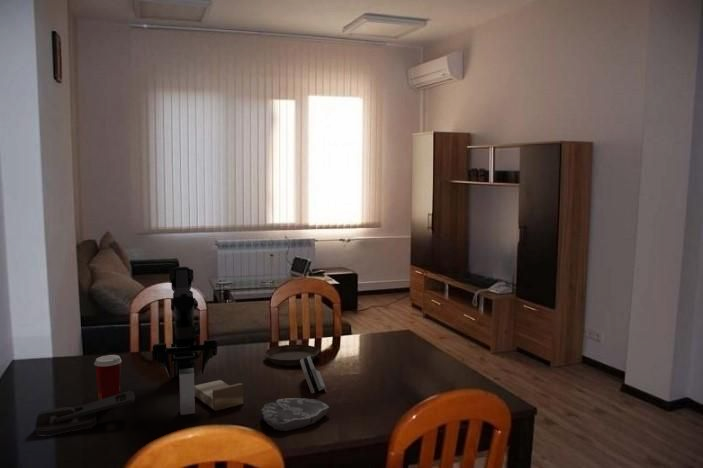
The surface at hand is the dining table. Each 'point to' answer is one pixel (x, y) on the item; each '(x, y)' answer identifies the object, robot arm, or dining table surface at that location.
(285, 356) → the plant saucer
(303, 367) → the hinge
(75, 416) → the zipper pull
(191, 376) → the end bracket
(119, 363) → the paper cup
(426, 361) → the dining table surface
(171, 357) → the robot arm
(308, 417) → the brain slice
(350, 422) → the dining table surface
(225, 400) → the block
